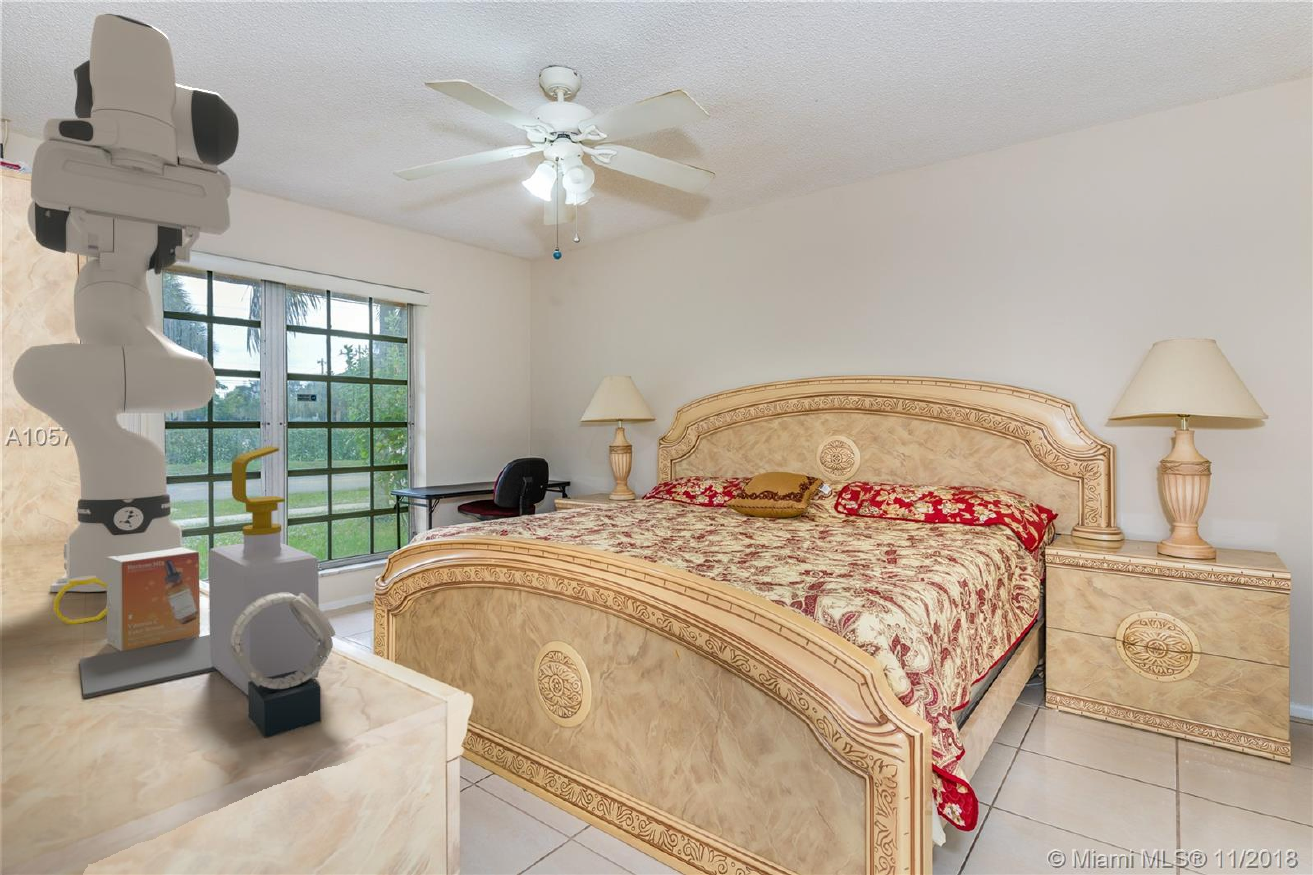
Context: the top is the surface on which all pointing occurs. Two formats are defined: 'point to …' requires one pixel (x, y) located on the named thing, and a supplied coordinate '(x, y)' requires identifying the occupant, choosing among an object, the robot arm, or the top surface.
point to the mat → (145, 666)
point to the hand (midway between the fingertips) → (138, 255)
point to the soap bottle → (259, 590)
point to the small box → (152, 598)
